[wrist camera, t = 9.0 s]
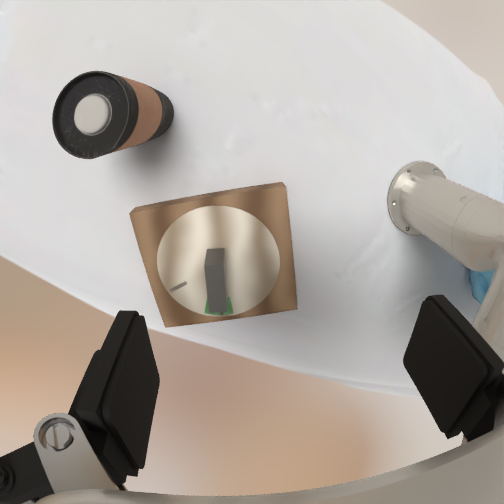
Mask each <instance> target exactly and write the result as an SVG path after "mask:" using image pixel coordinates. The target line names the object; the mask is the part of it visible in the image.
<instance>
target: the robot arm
mask: <svg viewBox="0 0 504 504" xmlns="http://www.w3.org/2000/svg"><path fill="white" fill-rule="evenodd" d="M388 209H389V213H390V216H391V218H392V220H393V222H394V223H395V225H396V226H397V227H398V228H399V229H401V230H402V231H403V232H405V233H407V234H411V235H421V234H423V235H425V236H426V237H427V238H429V239H430V240H431V241H433V242H434V243H435V244H437V245H438V246H439V247H441V248H442V249H443V250H445V251H446V252H447V253H448V254H450V255H451V256H452V257H454V258H455V259H456V260H457V261H459V262H460V263H461V264H463V265H464V266H465V267H467V268H469V269H471V270H473V271H479V272H485V271H491V270H495V271H494V274H493V277H492V279H491V284H490V286H489V288H488V291H487V293H486V295H485V297H484V300H483V302H482V304H481V306H480V308H479V310H478V312H477V314H476V316H475V318H474V321H473V323H472V325H471V324H470V323H469V322H468V321H467V320H466V318H465V317H464V316H463V315H462V314H461V313H460V312H459V311H458V310H457V309H456V308H455V307H454V306H453V305H452V304H451V303H450V302H449V301H448V299H447V298H446V297H445V296H443V295H433V296H428V297H427V298H426V300H425V301H423V303H422V305H421V308H420V312H419V315H418V318H417V321H416V324H415V327H414V330H413V333H412V336H411V338H410V341H409V344H408V347H407V349H406V352H405V355H404V358H403V363H404V366H405V368H406V370H407V372H408V373H409V375H410V377H411V379H412V380H413V382H414V384H415V385H416V387H417V389H418V391H419V393H420V394H421V396H422V398H423V400H424V401H425V403H426V405H427V407H428V409H429V410H430V412H431V414H432V416H433V418H434V420H435V422H436V423H437V425H438V427H439V429H440V431H441V432H444V433H445V435H446V437H447V439H449V438H451V437H454V436H456V435H459V434H460V432H461V431H462V432H463V434H464V435H463V440H462V444H461V446H459V447H456V448H454V449H452V450H450V451H447V452H445V453H442V454H440V455H437V456H435V457H432V458H429V459H427V460H424V461H421V462H418V463H415V464H413V465H409V466H407V467H403V468H400V469H397V470H394V471H390V472H387V473H384V474H380V475H376V476H372V477H368V478H364V479H360V480H357V481H352V482H348V483H343V484H337V485H332V486H327V487H321V488H315V489H309V490H302V491H294V492H286V493H276V494H266V495H265V494H264V495H249V496H185V495H183V496H182V495H168V494H157V493H144V492H132V491H128V490H127V489H126V487H125V486H124V484H123V483H125V482H126V477H127V475H129V476H136V477H137V476H138V470H139V469H143V468H144V465H145V460H146V453H147V447H148V441H149V436H150V431H151V425H152V420H153V414H154V409H155V404H156V398H157V394H158V389H159V383H160V380H159V379H160V378H159V373H158V369H157V366H156V362H155V359H154V355H153V351H152V347H151V343H150V339H149V335H148V331H147V326H146V322H145V318H144V316H140V315H139V313H138V312H137V311H119V312H118V314H117V316H116V318H115V320H114V322H113V324H112V326H111V328H110V330H109V333H108V334H107V337H106V339H105V341H104V343H103V345H102V348H101V350H97V351H96V352H95V353H94V355H93V357H92V359H91V361H90V364H89V366H88V368H87V370H86V372H85V375H84V377H83V379H82V381H81V384H80V386H79V388H78V391H77V393H76V395H75V398H74V400H73V403H72V405H71V408H70V410H69V413H68V414H65V413H54V414H50V415H48V416H46V417H44V418H43V419H42V420H41V421H40V422H39V423H38V424H37V426H36V428H35V430H34V436H33V437H34V442H32V443H30V444H27V445H25V446H23V447H21V448H19V449H17V450H15V451H13V452H11V453H9V454H6V455H4V456H2V457H0V504H504V204H503V203H501V202H499V201H496V200H494V199H492V198H490V197H488V196H485V195H483V194H481V193H478V192H476V191H474V190H472V189H469V188H467V187H465V186H462V185H460V184H457V183H455V182H452V181H450V180H447V179H446V177H445V175H444V174H443V172H442V171H441V170H440V169H439V168H438V167H437V166H435V165H434V164H431V163H429V162H424V161H416V162H413V163H410V164H408V165H406V166H405V167H404V168H403V169H401V170H400V171H399V173H398V174H397V175H396V176H395V178H394V180H393V182H392V184H391V187H390V190H389V195H388Z"/></svg>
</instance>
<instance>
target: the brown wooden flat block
mask: <svg viewBox="0 0 504 504" xmlns="http://www.w3.org/2000/svg"><path fill="white" fill-rule="evenodd" d="M129 214H130V218H131V221H132V225H133V229H134V232H135V236H136V239H137V243H138V246H139V250H140V253H141V256H142V260H143V263H144V266H145V269H146V272H147V276H148V279H149V282H150V285H151V288H152V291H153V294H154V297H155V300H156V303H157V306H158V308H159V311H160V314H161V317H162V320H163V322H164V325H165V328H166V327H175V326H184V325H192V324H200V323H208V322H216V321H223V320H231V319H238V318H245V317H251V316H258V315H265V314H271V313H277V312H283V311H289V310H295V309H297V296H296V284H295V273H294V261H293V251H292V240H291V230H290V220H289V211H288V202H287V193H286V186H285V185H284V184H283V182H279V183H271V184H264V185H258V186H251V187H244V188H238V189H232V190H225V191H219V192H213V193H208V194H202V195H196V196H191V197H185V198H180V199H175V200H169V201H164V202H159V203H154V204H149V205H144V206H140V207H135V208H134V209H133V210H132V211H131V212H130V213H129ZM214 248H225V263H226V278H227V292H228V298H227V312H223V315H220V312H219V313H209V307H208V298H207V289H206V280H205V270H204V263H205V257H206V251H207V249H214Z"/></svg>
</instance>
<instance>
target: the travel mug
mask: <svg viewBox="0 0 504 504" xmlns="http://www.w3.org/2000/svg"><path fill="white" fill-rule="evenodd" d="M172 120H173V106H172V103H171V101H170V100H169V98H168V97H167V96H166V95H164V94H163V93H161V92H160V91H158V90H156V89H154V88H152V87H150V86H148V85H146V84H143V83H140V82H137V81H134V80H131V79H128V78H124V77H121V76H118V75H115V74H111V73H108V72H103V71H91V72H86V73H83V74H81V75H79V76H77V77H75V78H74V79H73V80H71V81H70V82H69V83H68V84H67V85H66V86H65V87H64V88H63V90H62V91H61V92H60V94H59V96H58V98H57V100H56V103H55V106H54V110H53V117H52V123H53V130H54V134H55V136H56V139H57V141H58V142H59V144H60V145H61V147H62V148H63V149H64V150H65V151H67V152H68V153H69V154H71V155H73V156H75V157H78V158H83V159H94V158H97V157H99V156H103V155H106V154H109V153H112V152H115V151H119V150H122V149H126V148H129V147H133V146H136V145H139V144H142V143H144V142H147V141H149V140H151V139H154V138H156V137H158V136H160V135H162V134H163V133H164V132H165V131H166V130H167V129H168V128H169V126H170V125H171V122H172Z"/></svg>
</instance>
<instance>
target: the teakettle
mask: <svg viewBox="0 0 504 504" xmlns="http://www.w3.org/2000/svg"><path fill="white" fill-rule="evenodd" d="M494 271H495V270H491V271H485V272H479V271H473V270H471V269H470V281H471V284H472V295H473V297H474V298H475V299H476V300H477V301H478V302H479V303H480V304H482V302H483V300H484V297H485V295H486V293H487V291H488V288H489V286H490V284H491V279H492V277H493V274H494Z"/></svg>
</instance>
